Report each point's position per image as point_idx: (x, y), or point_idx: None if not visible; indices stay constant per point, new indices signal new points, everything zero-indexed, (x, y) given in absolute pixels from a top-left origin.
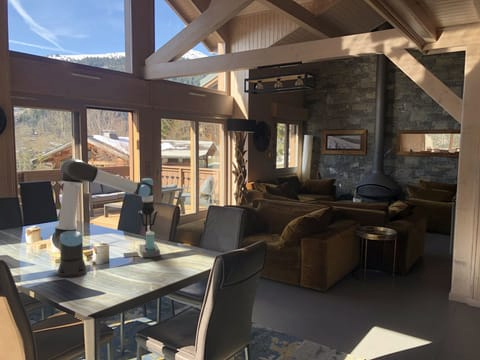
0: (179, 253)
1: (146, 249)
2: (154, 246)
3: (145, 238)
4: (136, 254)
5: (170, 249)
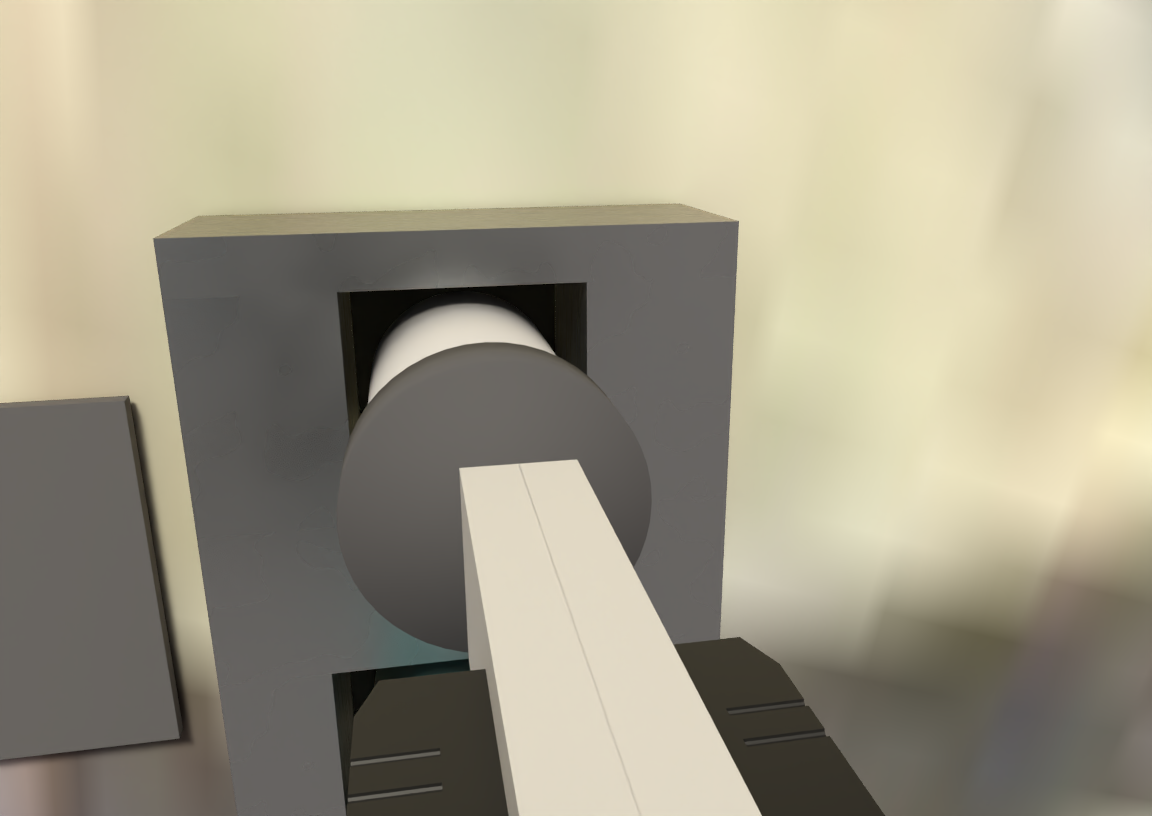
0: (1073, 671)
1: None
2: (638, 559)
3: (363, 594)
4: (110, 631)
5: (1013, 327)
